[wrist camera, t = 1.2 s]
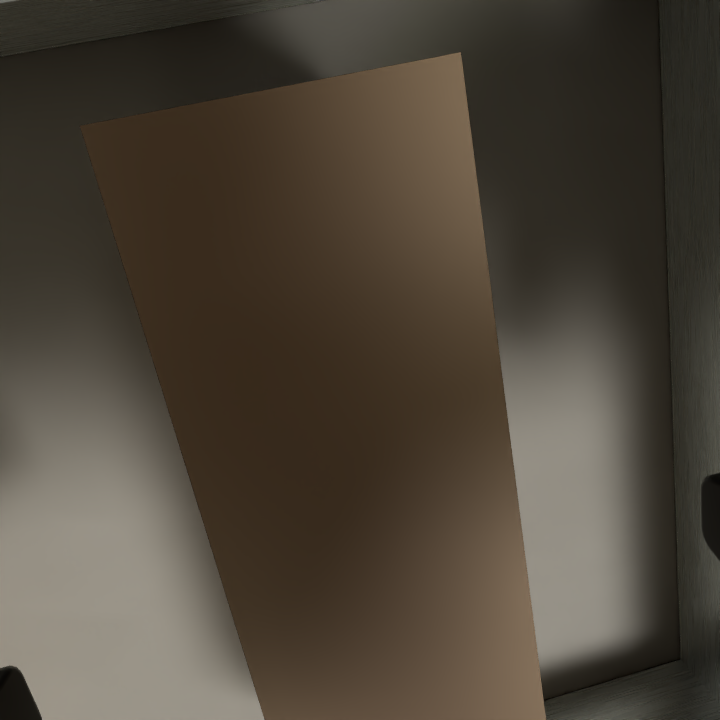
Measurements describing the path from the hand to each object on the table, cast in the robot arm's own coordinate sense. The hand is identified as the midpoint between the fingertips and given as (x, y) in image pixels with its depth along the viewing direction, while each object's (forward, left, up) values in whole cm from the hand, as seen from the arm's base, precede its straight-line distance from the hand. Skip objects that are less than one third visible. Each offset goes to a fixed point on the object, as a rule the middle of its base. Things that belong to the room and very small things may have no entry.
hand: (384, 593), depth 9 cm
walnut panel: (0, 0, -4) cm, 5 cm away
